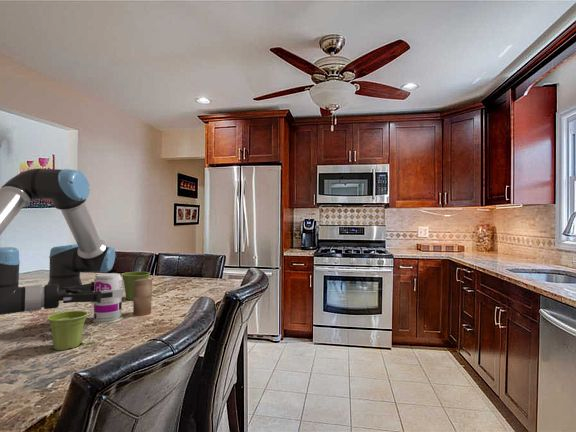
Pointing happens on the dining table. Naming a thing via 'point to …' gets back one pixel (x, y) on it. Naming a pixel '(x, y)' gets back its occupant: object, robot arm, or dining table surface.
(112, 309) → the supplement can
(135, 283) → the walnut canister
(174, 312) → the dining table surface
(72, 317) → the plant pot
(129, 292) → the plant pot
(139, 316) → the board
